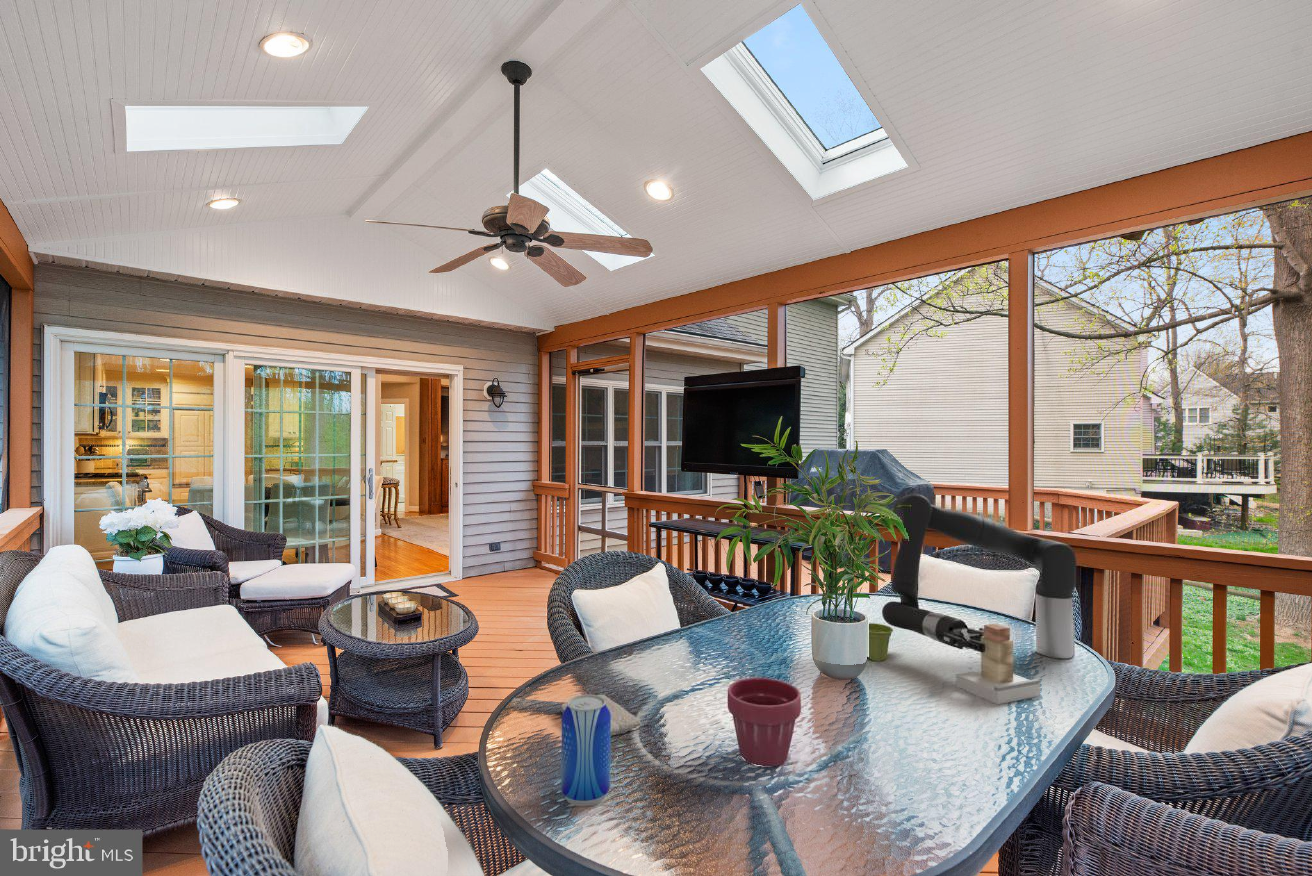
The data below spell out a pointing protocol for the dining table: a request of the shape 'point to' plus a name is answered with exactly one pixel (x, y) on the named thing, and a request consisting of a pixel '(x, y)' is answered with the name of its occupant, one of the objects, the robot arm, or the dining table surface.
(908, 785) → the dining table surface
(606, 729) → the beer can
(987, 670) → the beige tall block
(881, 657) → the plant pot
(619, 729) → the washcloth
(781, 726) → the plant pot
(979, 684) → the dock
